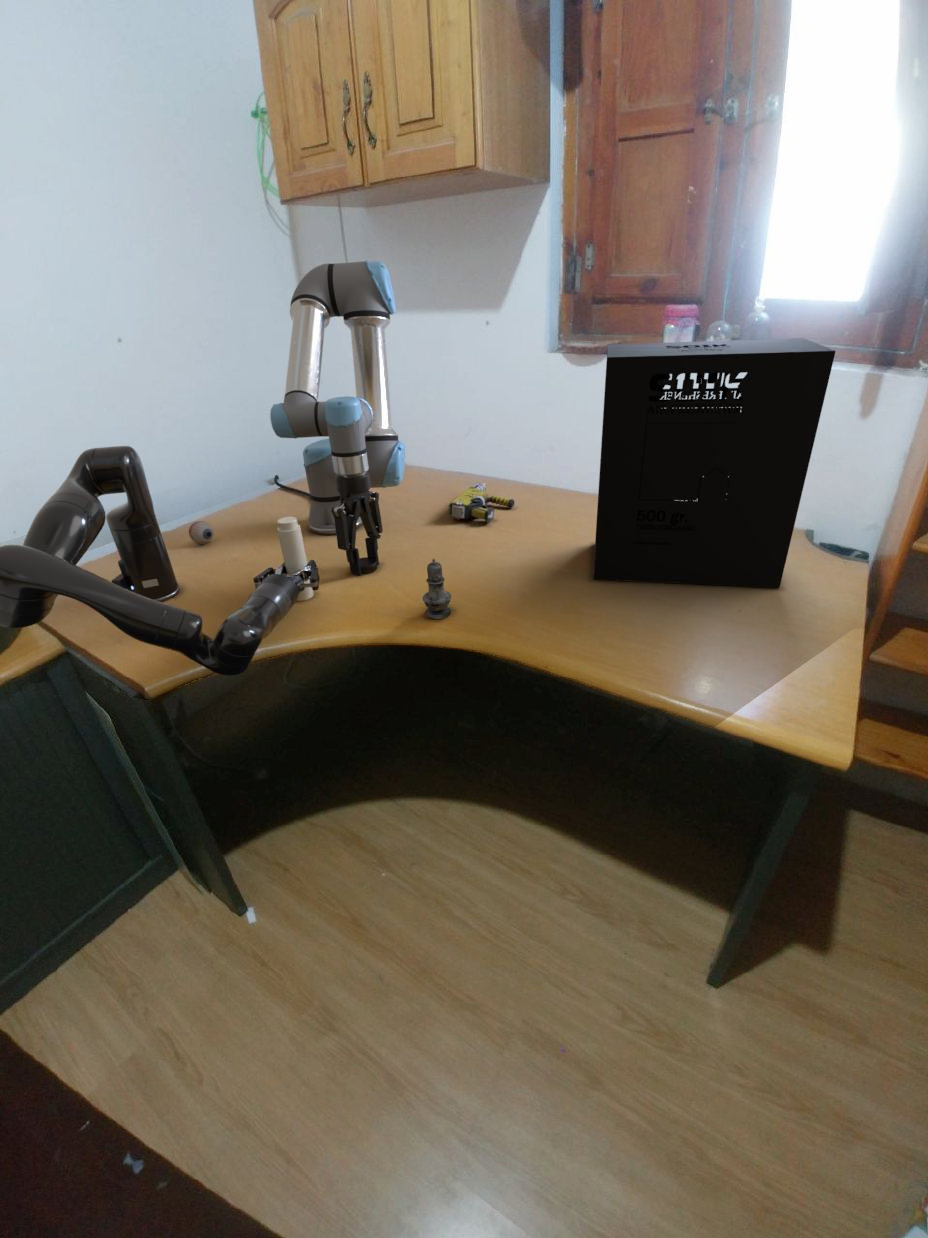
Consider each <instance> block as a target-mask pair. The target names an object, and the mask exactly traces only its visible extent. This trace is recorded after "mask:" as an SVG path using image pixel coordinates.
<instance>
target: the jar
mask: <svg viewBox="0 0 928 1238" xmlns="http://www.w3.org/2000/svg"><path fill="white" fill-rule="evenodd" d="M276 524H277V526H278V527H277V528H276V531H277V535H278V539H279V544H280V549H281V553H282V556H283V557H282V558H283V563H285V567H286V572H287V574H290V573H291V574H292V573H293V572H295V571H296V570H298V569H303V568H305V566H306V565H307V564H308V558H307V553H306V548H305V543H304V539H303V533H302V529H301V524H299V522H298V518H297V517H295V516H284V517H281V518H278V520H277V522H276ZM305 575H306V573H305ZM314 594H315V592H314V590H313V589H312V588H311V587H308V588H305V589H304V590H303V591H301V592H300V593H299V595H298V598H297V600H296V602H301V601H308V600H310V599H311V598H313V596H314Z"/></svg>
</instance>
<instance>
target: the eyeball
mask: <svg viewBox="0 0 928 1238" xmlns="http://www.w3.org/2000/svg"><path fill="white" fill-rule="evenodd" d="M188 534H189V535H188V536H189V537H190V539H191V540H192V541H193V542H194V543H197V544H199V545H200V544H202V545H203V544H207V543H209V542H210V541H211V540H212V539H213V538H214V529H213V527H212V525H211V524H210V523H208V522H206V521H204V520H199V521H197V520H196V521H195V522H193V523H192V524H191V525H190V527H189V529H188Z"/></svg>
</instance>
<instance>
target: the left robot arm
mask: <svg viewBox="0 0 928 1238" xmlns="http://www.w3.org/2000/svg"><path fill="white" fill-rule="evenodd" d="M143 465H144V464H143V462H142V460H141V457H140V456H139V453H138V452H137V451H136V450H135V448H133V447H132V446H130V445H114V446H102V447H92V448H89V449H88V448H87V449H86V450H84V451H83V452H81V454H79V456H78V457H77V459H76V460H75V462H74V464H73V465H72V467H71V470H70V471H69V473H68V475H67V476H66V478H65V480H64V481H63V482H62V484H61V485H60V486H59V487H58V489H57V490H56V491H55V492H54V493H53V495H51V496H50V497H49V498H48V500H46V502H45V503H44V504H43V505H42V506H41V508H39V510H38V511H37V513H36V515H35V516H34V518H33V520H32V521H31V524H30V527H29V528H28V531H27V533H26V535H25V537H24V540H23V542H22V544H5V545H2V546H0V627H4V628H8V629H21V628H22V629H23V628H28V627H31V626H34V625H36V624H38V623H40V622H42V621H43V620H44V619H46V618H47V617H48V616H49V615H50V613H51V612H52V610H53V609H54V606H55V602H56V599H57V597H58V595H59V596H63V597H66V598H70V599H73V600H75V601H77V602H80V603H82V604H84V605H85V606H87V607H89V608H91V609H92V610H94V611H95V612H97V613H98V614H99V615H101V616H102V617H103V618H105V619H106V620H107V621H109V622H110V623H111V624H112V625H113V626H114V627H115V628H117V629H118V630H120V632H123V633H124V634H125V635H127V636H129V637H131V638H132V639H134V640H136V641H138V642H140V643H143V644H147V645H150V646H153V647H154V646H155V647H158V648H161V649H164V650H168V651H171V652H176V653H179V654H180V655H183V656H184V657H186V658H188V659H190V660H191V661H193V662H195V663H196V664H199V665H200V666H202V667H204V669H207V670H209V671H211V672H213V673H215V674H218V675H220V676H229V677H230V676H238V675H240V674H242V673H244V672H246V670H248V668H249V666H250V664H251V662H252V660H253V659H254V656H255V654H256V653H257V651H258V649H259V647H260V645H261V643H262V642H263V640H265V639H266V638H267V637H268V636H269V635H271V633H272V632H273V631H274V630H275V629H276V626H277V625H278V624H279V623H280V622H281V621H282V620H283V619H284V618H285V617H286V616H287V615H288V613H289V611H290V610H291V609H292V607H294V605H295V604H296V602H297V598H298V595H299V593H300V592H301V591H303V590H304V589H305V588H308V587H311V588H312V589H313V591H318V590H319V587H320V581H321V577H320V573H319V568H318V567H317V562H316V561H315V559H310V560H309V561H307V563H308V564H307V565H306V566H305V568H303V569H298V570H296V571H295V572H293V573H292V574H291V573H290V574H287V572H286V567H285V563H284V562H283V563H282V564H280V565H278V566H277V567H276V568H274V567H272V566H271V567H268V568H266V569H264V570H263V571H261V572H260V573H259V574H257V575H256V576H254V577H252V581H253V584H254V590H253V591H252V592H251V593H250V594H249V596H248V598H247V600H246V601H245V602H244V603H243V604H242V605H241V606H240V608H239V609H237V610H236V611H234V612H233V613H231V614H229V615H228V616H227V617H226V618H225V619H224V621H223V622H222V623H221V625H220V626H219V628H218V629H217V632H216V634H215V637H214V638H212V637H210V636H208V635H206V633H204V632H203V626H204V625H203V624H204V623H203V618H202V616H201V615H200V614H198V613H196V612H194V611H190V610H188V609H184V608H181V607H178V606H175V605H171V604H169V603H165V602H163V601H167V600H170V599H172V598H173V597H175V596H176V595H178V593H180V590H181V589H180V585H179V583H178V580H177V577H176V574H175V571H174V568H173V565H172V561H171V558H170V556H169V553H168V549H167V547H166V544H165V540H164V537H163V535H162V531H161V528H160V525H159V523H158V519H157V516H156V513H155V508H154V503H153V499H152V495H151V492H150V487H149V485H148V480H147V476H146V473H145V469H144V466H143ZM124 493H125V494H126V500H127V501H126V502H125V503H123V504H121V505H118V506H117V507H115V508H112V509H111V510H110V511H108V513H107V514H106V510H105V508H104V506H103V504H102V502H101V501H100V499H99V497H101V496H105V495H113V494H124ZM106 523H107V526H108V528H109V531H110V534H111V537H112V539H113V542H114V544H115V547H116V550H117V553H118V556H119V558H120V559H118V561H117V565H118V568H119V570H120V573H119V574H118V575H117V576H115V577H114V578H113V579H111V580H108V579H106V578H104V577H102V576H100V575H98V574H96V573H94V572H91V571H89V570H87V569H85V568H83V567H80V566H78V565H77V564H78V563H79V562H80V560H81V559H82V558H83V556H84V555H85V554H86V552H87V551H88V549H90V547H91V546H92V545H93V543H94V542H95V540H96V539H97V537H98V536H99V535H100V533H101V532H102V530H103V528H104V525H105V524H106ZM305 573H306V575H305Z"/></svg>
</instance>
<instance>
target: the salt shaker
mask: <svg viewBox="0 0 928 1238" xmlns="http://www.w3.org/2000/svg"><path fill="white" fill-rule="evenodd" d="M426 570H427V578H426V583H427V585H428V591H427V592H426V593H424V594H423V595H422V601H423V603H424V605H425V607H426V608H427V609H426V610H425V613H424V614H425V616H426V617H427V618H429V619H434V620H440V619H444V618H448V617H449V616H450V615H451V614H452V609H451V608H450V607H449V606H450V603H451V599H452V597H453V596H452V593H451V592H449V591H447V590H445V585H444V582H445V579H446V578H445V577H444V576H443V567H442V564H441V563H440V562H437V560H436V558H432V562H430V563H428V565H427V566H426Z"/></svg>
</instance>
